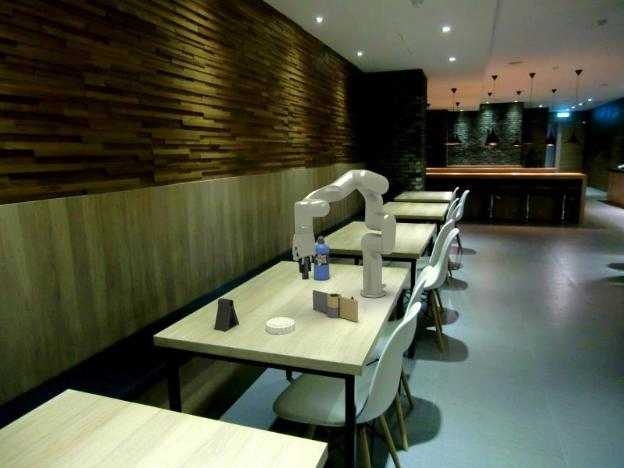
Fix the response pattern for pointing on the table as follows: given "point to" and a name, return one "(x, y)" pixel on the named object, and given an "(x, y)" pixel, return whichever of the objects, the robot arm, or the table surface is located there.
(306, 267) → the hinge pin
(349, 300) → the hinge leaf
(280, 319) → the mooncake
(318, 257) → the water bottle
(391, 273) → the table surface
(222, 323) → the phone stand
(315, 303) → the hinge base
